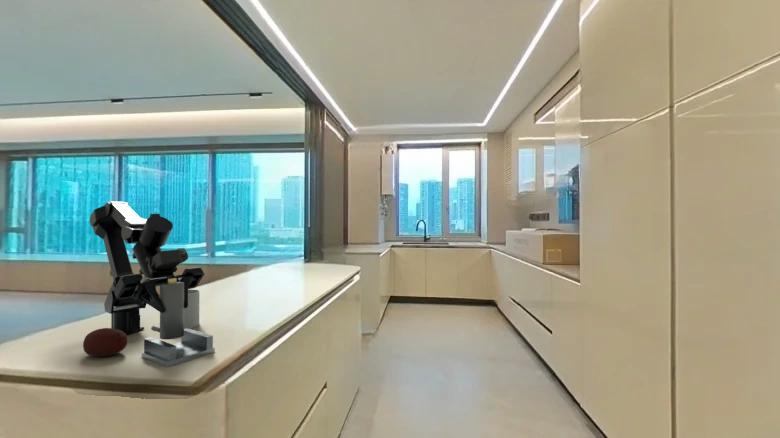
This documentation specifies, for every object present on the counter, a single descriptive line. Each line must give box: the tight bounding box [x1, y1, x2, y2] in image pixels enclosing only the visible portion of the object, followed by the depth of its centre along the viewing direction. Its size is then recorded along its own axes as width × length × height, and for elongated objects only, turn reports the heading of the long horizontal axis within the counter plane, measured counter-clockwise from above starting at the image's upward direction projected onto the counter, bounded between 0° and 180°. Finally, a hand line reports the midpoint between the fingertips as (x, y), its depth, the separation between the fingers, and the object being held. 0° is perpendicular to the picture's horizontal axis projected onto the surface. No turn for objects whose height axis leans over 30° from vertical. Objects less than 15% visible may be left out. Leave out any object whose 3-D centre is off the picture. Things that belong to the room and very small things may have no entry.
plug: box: [150, 278, 184, 340], centre depth 91 cm, size 12×5×14 cm, turn 58°
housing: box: [141, 328, 216, 368], centre depth 88 cm, size 11×11×4 cm
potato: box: [82, 327, 128, 358], centre depth 87 cm, size 7×10×6 cm
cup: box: [184, 289, 200, 329], centre depth 111 cm, size 8×8×10 cm
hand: (175, 309), depth 88 cm, fingers closed on plug, 5 cm apart
